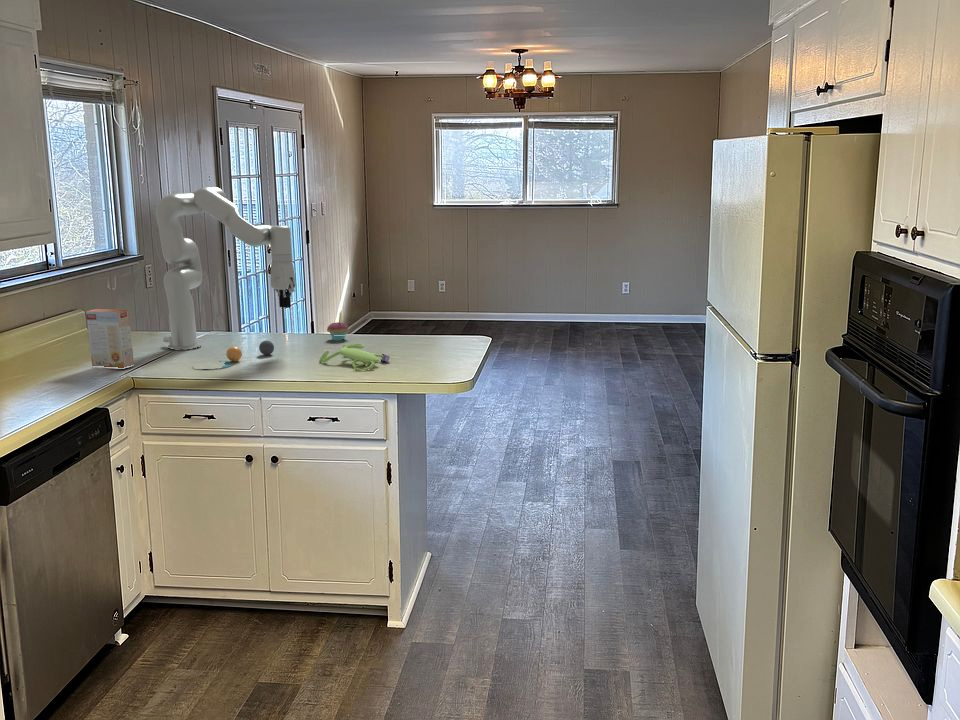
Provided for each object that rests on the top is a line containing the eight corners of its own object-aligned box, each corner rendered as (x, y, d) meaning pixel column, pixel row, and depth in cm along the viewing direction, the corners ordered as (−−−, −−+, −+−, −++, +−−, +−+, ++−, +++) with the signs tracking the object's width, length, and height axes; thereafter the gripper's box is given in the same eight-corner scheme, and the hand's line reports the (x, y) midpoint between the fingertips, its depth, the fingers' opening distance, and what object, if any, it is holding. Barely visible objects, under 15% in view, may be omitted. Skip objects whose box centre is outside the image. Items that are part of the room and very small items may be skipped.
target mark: (184, 369, 312) (184, 368, 312) (205, 360, 325) (205, 360, 325) (220, 370, 309) (220, 370, 309) (239, 362, 322) (239, 361, 322)
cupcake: (352, 338, 362) (351, 309, 360) (341, 342, 355) (339, 312, 352) (335, 336, 366) (333, 308, 363) (323, 340, 358) (321, 311, 356)
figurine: (352, 354, 334) (352, 340, 333) (401, 364, 316) (400, 349, 315) (313, 363, 320) (312, 348, 319) (362, 373, 303) (361, 357, 302)
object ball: (224, 362, 321) (222, 347, 320) (231, 359, 326) (230, 344, 325) (238, 363, 320) (236, 348, 319) (245, 359, 325) (244, 345, 324)
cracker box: (135, 366, 317) (129, 309, 312) (123, 370, 311) (117, 312, 307) (103, 364, 321) (97, 307, 317) (91, 368, 316) (85, 310, 311)
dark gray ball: (257, 356, 331) (256, 341, 330) (263, 353, 336) (262, 339, 335) (270, 356, 330) (269, 342, 329) (277, 353, 335) (276, 339, 334)
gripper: (261, 258, 335) (265, 306, 339) (286, 261, 324) (289, 310, 328) (278, 256, 340) (281, 303, 344) (302, 259, 330) (305, 307, 334)
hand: (285, 306), depth 336 cm, fingers closed
